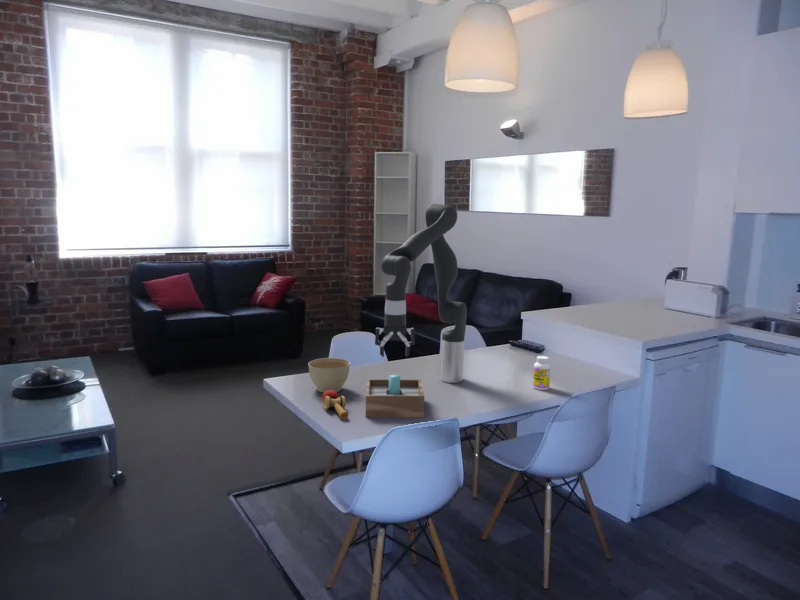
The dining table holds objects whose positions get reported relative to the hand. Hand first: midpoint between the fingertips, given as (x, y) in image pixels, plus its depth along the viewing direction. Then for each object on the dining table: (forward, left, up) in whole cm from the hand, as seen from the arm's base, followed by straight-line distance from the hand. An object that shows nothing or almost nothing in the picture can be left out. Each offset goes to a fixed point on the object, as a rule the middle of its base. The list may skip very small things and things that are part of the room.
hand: (394, 356), depth 214 cm
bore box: (+2, 0, -18) cm, 18 cm away
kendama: (+7, -20, -19) cm, 28 cm away
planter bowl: (-18, -25, -19) cm, 36 cm away
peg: (0, 0, -18) cm, 18 cm away
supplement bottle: (-23, +60, -19) cm, 67 cm away
